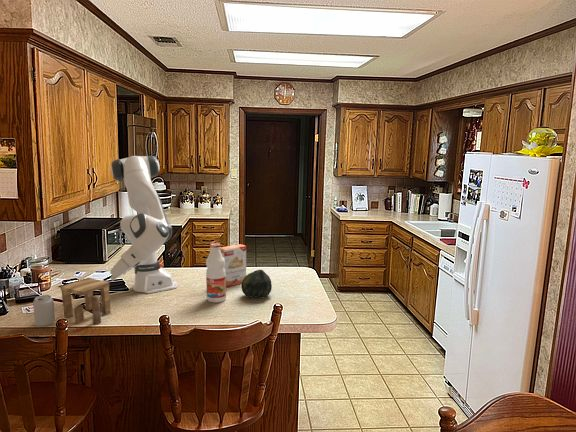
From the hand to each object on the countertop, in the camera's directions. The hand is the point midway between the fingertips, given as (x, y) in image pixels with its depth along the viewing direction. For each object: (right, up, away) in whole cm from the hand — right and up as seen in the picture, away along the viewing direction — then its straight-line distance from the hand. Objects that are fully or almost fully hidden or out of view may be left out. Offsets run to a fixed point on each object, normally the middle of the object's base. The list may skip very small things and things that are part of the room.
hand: (117, 275), depth 183 cm
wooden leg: (-11, -20, +9) cm, 25 cm away
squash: (+56, -16, +38) cm, 69 cm away
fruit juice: (+36, -16, +33) cm, 52 cm away
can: (-32, -21, +4) cm, 39 cm away
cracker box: (+41, -12, +57) cm, 71 cm away
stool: (-18, -19, +13) cm, 30 cm away
